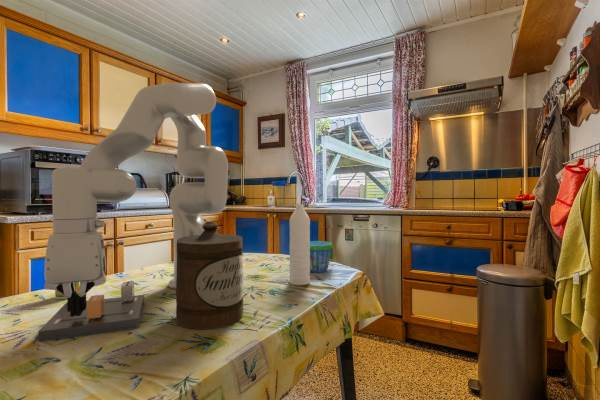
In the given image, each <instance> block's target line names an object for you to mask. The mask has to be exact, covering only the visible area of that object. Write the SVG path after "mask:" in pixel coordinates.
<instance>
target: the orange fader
mask: <svg viewBox="0 0 600 400" xmlns="http://www.w3.org/2000/svg"><path fill="white" fill-rule="evenodd" d="M104 299H105V294H96V295H91V296H90V297H89V299H88V300H86V301H87V319H91V318H99V317H101V316H102V314H103V312H104Z"/></svg>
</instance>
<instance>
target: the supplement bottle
mask: <svg viewBox="0 0 600 400" xmlns="http://www.w3.org/2000/svg"><path fill="white" fill-rule="evenodd" d="M79 286H80V282H74V287H75V291H76V293H78V292H79ZM54 297H55V299H56V300H67V298H66V297H65V295H64V294H62V293H61V292H59V291H58V290H54Z"/></svg>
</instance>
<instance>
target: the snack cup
mask: <svg viewBox="0 0 600 400" xmlns="http://www.w3.org/2000/svg"><path fill="white" fill-rule="evenodd" d="M334 256H335V255H334V248H333V244H332V242H329V241H323V240H313V241H311V240H310V273H315V274H316V273H317V274H318V273H326V272H328V270H329V263H330V260H332V259H333V258H334Z"/></svg>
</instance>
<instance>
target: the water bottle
mask: <svg viewBox="0 0 600 400" xmlns="http://www.w3.org/2000/svg"><path fill="white" fill-rule="evenodd" d="M295 205H296V206H295V209H294V211H293V213H292V214H291V216H290V218H289V284H291V285H293V286H307V285H309V284H310V283H311V275H310V274H311V272H310V241H311V238H310V237H311V227H310V226H311V219H310V217H309V215H308V213H307V212H306V210H305V208H304V207H305V206H304V204H301V203H298V204H295ZM307 207H308V208H317V204H316V203H309V204H308V206H307Z"/></svg>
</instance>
